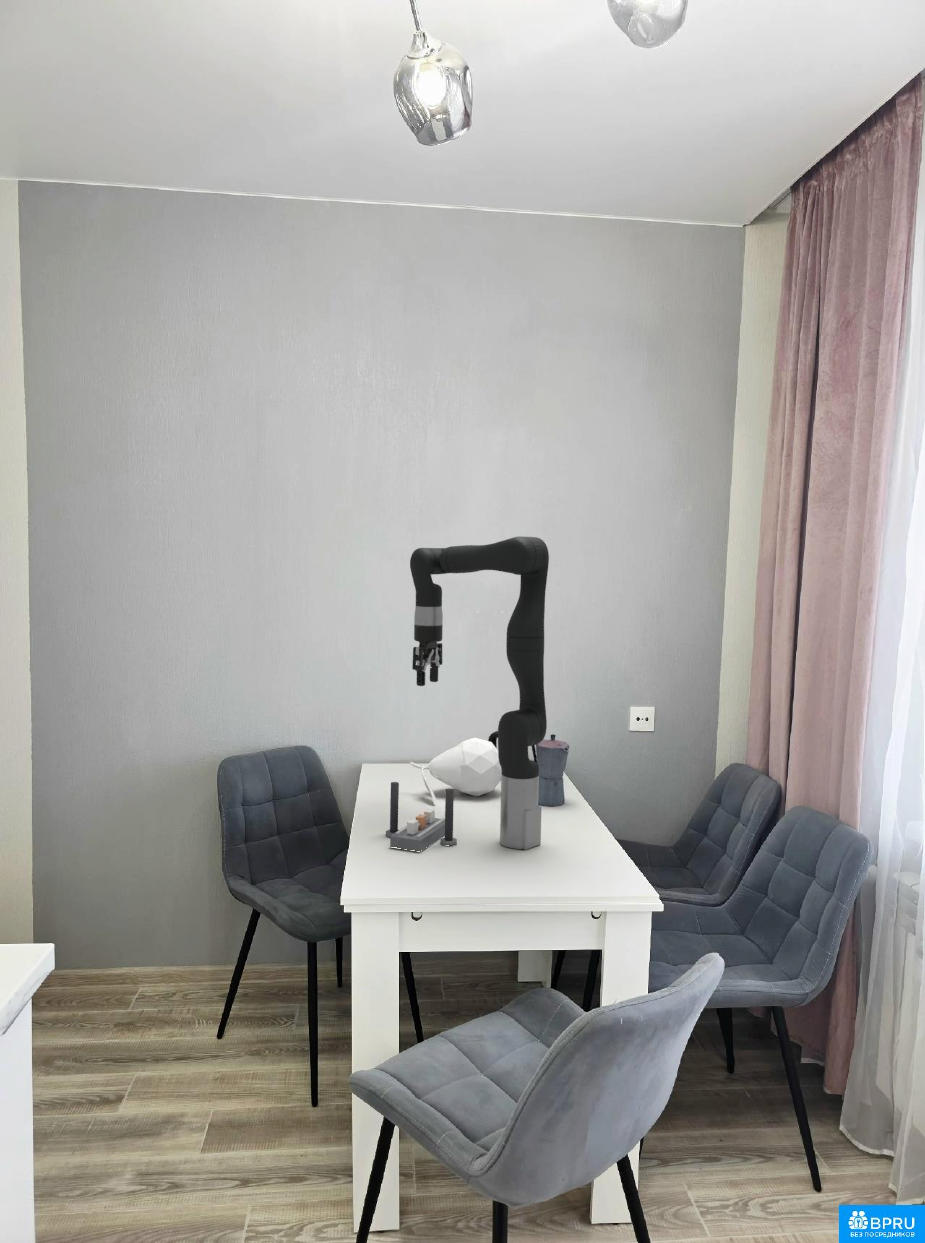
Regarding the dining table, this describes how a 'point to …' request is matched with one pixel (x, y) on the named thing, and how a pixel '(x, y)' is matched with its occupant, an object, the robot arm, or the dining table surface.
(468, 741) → the pear ornament
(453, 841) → the dark grey cylinder
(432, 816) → the white and orange bar
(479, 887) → the dining table surface
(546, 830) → the dining table surface
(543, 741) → the moka pot
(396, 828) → the dark grey lever handle
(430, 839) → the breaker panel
